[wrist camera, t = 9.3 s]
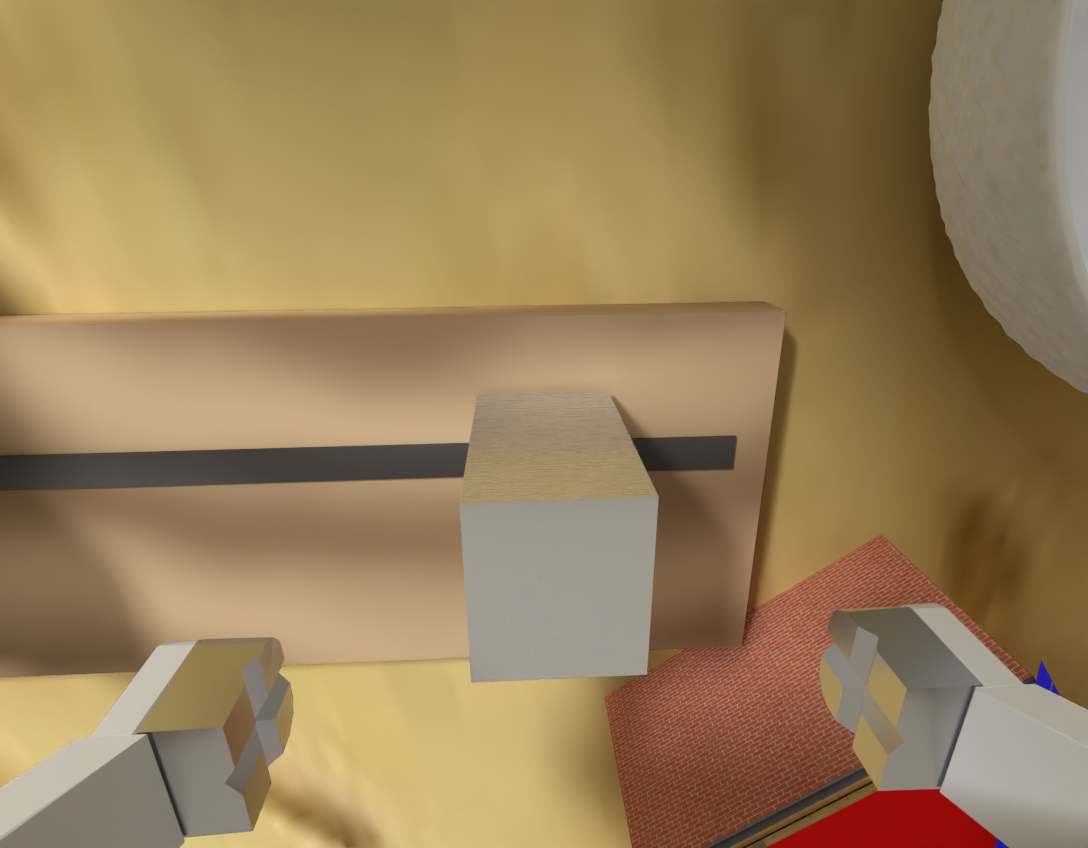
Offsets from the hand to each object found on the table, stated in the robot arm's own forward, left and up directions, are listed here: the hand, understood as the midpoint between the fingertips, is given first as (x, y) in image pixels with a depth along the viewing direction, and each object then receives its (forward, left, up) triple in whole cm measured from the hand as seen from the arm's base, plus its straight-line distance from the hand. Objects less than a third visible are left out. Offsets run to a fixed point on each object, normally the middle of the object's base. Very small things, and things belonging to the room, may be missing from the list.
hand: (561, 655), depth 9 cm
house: (+16, +13, -11) cm, 23 cm away
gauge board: (+2, -7, -10) cm, 12 cm away
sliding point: (+2, 0, -8) cm, 8 cm away
